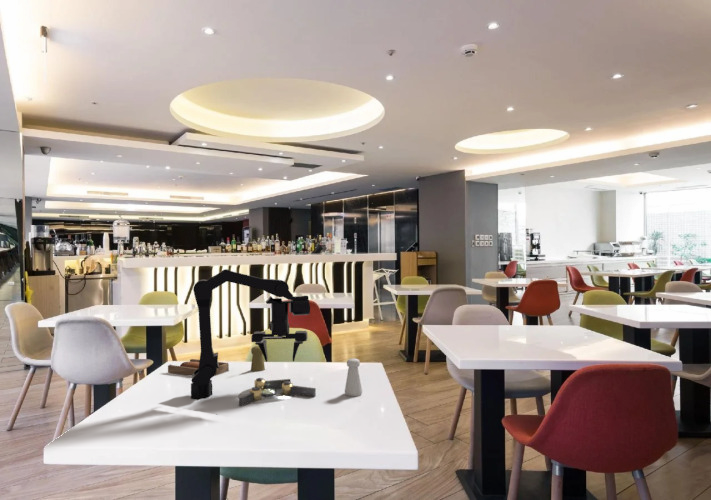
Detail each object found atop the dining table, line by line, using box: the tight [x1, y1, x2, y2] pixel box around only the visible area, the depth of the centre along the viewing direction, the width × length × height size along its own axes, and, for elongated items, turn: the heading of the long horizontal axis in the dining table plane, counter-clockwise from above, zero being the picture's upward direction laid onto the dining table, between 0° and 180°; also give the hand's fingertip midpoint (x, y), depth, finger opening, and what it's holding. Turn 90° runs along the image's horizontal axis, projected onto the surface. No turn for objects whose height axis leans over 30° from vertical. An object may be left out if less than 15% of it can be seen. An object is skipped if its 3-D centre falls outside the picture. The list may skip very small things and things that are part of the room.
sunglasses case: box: [179, 361, 199, 368], centre depth 191 cm, size 18×7×7 cm, turn 67°
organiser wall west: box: [167, 364, 198, 377], centre depth 185 cm, size 1×20×3 cm, turn 65°
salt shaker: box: [344, 357, 363, 397], centre depth 152 cm, size 6×6×13 cm
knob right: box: [282, 380, 317, 398], centre depth 152 cm, size 12×4×4 cm, turn 65°
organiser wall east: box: [189, 358, 229, 366], centre depth 196 cm, size 1×20×3 cm, turn 65°
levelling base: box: [238, 386, 296, 407], centre depth 151 cm, size 24×19×5 cm
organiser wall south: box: [214, 363, 230, 377], centre depth 186 cm, size 11×1×3 cm, turn 155°
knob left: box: [254, 377, 292, 390], centre depth 159 cm, size 12×4×4 cm, turn 105°
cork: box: [250, 345, 266, 372], centre depth 186 cm, size 6×6×11 cm
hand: (280, 361), depth 158 cm, fingers open, 9 cm apart
